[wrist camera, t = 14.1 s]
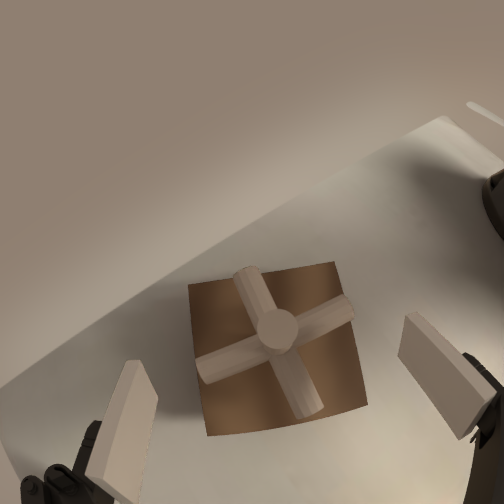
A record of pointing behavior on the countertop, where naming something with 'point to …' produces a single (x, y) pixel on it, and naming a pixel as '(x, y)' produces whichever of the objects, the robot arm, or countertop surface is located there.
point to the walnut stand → (263, 376)
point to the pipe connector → (276, 341)
